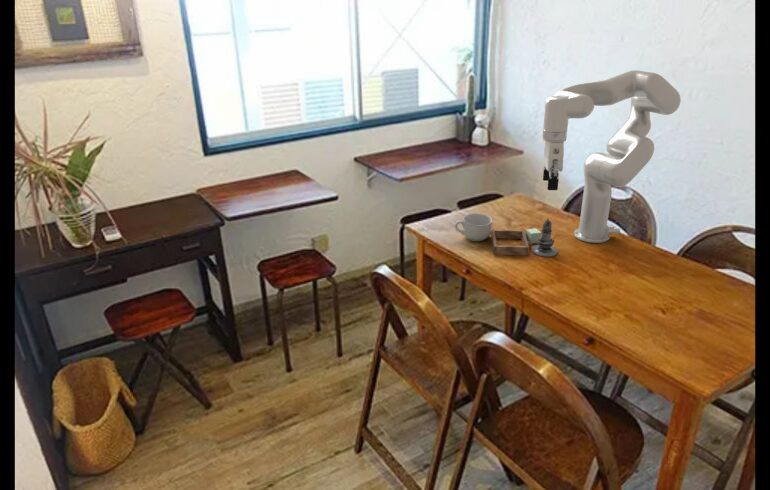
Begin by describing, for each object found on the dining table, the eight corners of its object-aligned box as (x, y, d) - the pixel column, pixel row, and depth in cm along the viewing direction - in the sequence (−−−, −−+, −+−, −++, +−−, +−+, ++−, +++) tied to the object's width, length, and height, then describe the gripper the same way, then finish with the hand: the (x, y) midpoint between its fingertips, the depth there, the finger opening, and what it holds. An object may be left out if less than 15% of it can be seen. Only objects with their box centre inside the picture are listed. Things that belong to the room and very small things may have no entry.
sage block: (535, 238, 214) (536, 228, 212) (540, 242, 210) (541, 232, 208) (525, 239, 213) (526, 229, 211) (530, 243, 209) (531, 233, 208)
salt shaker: (553, 247, 204) (557, 216, 199) (552, 254, 199) (556, 222, 194) (537, 245, 206) (540, 214, 201) (535, 252, 201) (538, 220, 196)
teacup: (490, 232, 219) (491, 213, 216) (492, 244, 209) (493, 224, 206) (453, 232, 220) (454, 212, 217) (454, 243, 211) (454, 223, 207)
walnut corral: (523, 237, 214) (524, 230, 213) (528, 255, 200) (528, 247, 199) (491, 236, 215) (491, 229, 214) (493, 254, 202) (493, 246, 201)
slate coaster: (555, 246, 206) (555, 244, 206) (559, 257, 198) (559, 255, 198) (530, 245, 207) (530, 244, 207) (532, 256, 199) (533, 254, 199)
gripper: (571, 142, 178) (566, 193, 185) (561, 128, 194) (556, 176, 201) (547, 142, 179) (542, 193, 186) (538, 128, 194) (535, 176, 202)
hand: (549, 185), depth 193 cm, fingers open, 9 cm apart
